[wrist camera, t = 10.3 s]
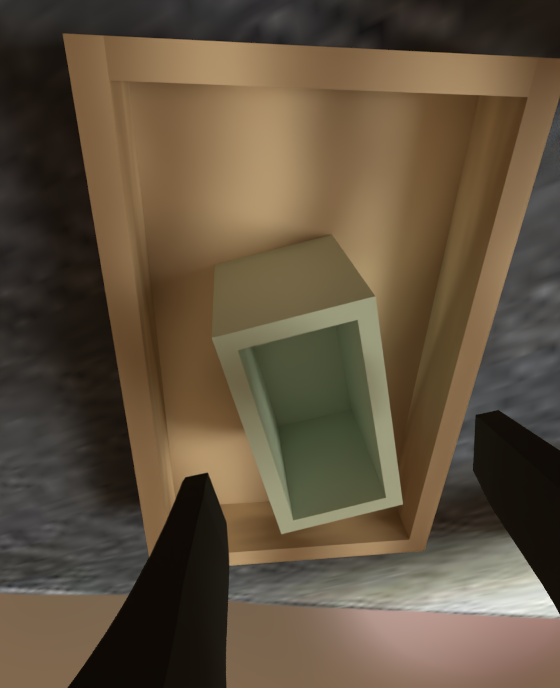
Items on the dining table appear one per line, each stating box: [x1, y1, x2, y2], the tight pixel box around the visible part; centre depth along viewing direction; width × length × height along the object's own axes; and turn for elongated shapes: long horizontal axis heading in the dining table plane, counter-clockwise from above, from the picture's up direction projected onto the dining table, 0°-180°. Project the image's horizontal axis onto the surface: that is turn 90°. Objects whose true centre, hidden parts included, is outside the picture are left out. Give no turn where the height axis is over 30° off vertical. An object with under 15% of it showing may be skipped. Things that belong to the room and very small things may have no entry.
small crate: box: [212, 235, 403, 534], centre depth 18 cm, size 5×9×6 cm, turn 13°
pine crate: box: [63, 34, 560, 566], centre depth 20 cm, size 14×22×4 cm, turn 178°
